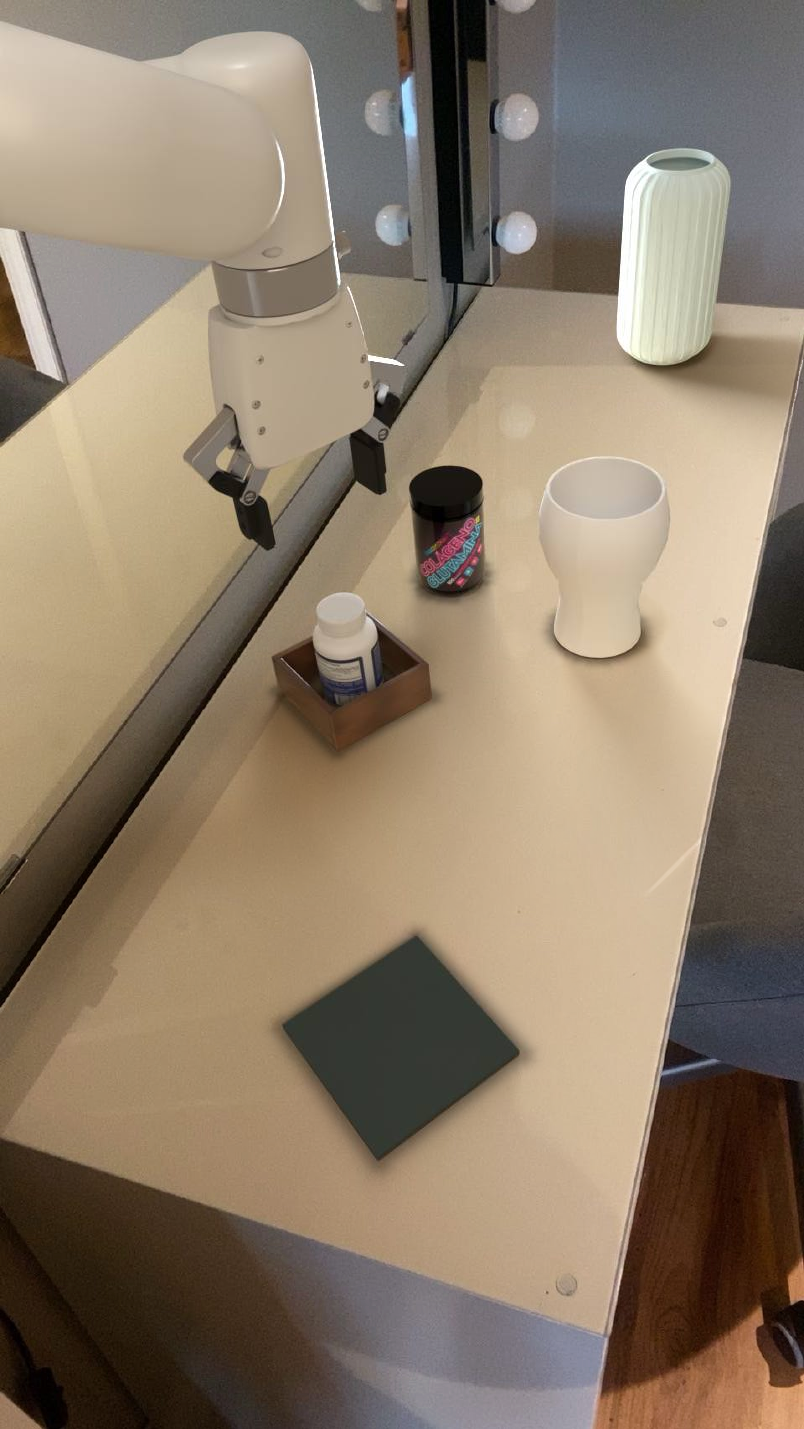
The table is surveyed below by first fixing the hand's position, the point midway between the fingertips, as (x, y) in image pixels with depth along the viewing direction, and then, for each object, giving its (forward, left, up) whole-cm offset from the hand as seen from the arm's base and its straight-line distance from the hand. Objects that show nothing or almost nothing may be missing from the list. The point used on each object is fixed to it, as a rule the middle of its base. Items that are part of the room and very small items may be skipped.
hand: (317, 513), depth 76 cm
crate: (+1, +2, -20) cm, 20 cm away
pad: (-15, -27, -20) cm, 37 cm away
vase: (+66, +28, -20) cm, 75 cm away
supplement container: (+18, +9, -20) cm, 29 cm away
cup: (+23, -6, -20) cm, 31 cm away
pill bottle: (+1, +2, -20) cm, 21 cm away
